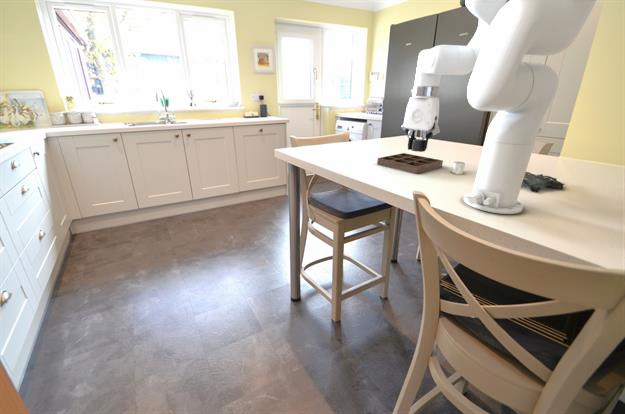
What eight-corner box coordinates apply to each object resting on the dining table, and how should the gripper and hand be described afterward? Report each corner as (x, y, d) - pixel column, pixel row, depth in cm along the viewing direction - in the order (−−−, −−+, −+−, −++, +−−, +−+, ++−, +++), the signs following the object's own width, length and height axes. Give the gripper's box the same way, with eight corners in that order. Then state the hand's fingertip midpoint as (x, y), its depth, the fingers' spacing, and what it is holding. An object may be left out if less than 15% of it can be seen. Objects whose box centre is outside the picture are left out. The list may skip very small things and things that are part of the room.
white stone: (460, 174, 96) (462, 164, 95) (449, 172, 99) (451, 162, 98) (464, 173, 99) (467, 162, 97) (454, 170, 101) (456, 160, 100)
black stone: (418, 151, 95) (420, 141, 94) (408, 150, 98) (410, 139, 97) (424, 150, 97) (425, 140, 96) (414, 149, 100) (416, 138, 99)
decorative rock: (519, 162, 97) (575, 168, 86) (514, 179, 99) (570, 187, 88) (494, 165, 87) (556, 172, 75) (490, 185, 88) (550, 195, 77)
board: (416, 174, 96) (417, 166, 95) (376, 164, 108) (377, 158, 108) (441, 167, 106) (443, 160, 105) (403, 158, 118) (403, 152, 117)
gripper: (396, 92, 94) (389, 147, 101) (444, 93, 82) (433, 156, 90) (409, 92, 99) (402, 145, 106) (456, 93, 87) (445, 153, 94)
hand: (416, 149), depth 98 cm, fingers closed on black stone, 3 cm apart
